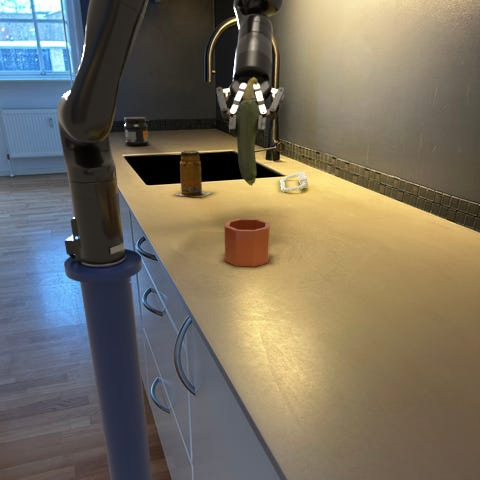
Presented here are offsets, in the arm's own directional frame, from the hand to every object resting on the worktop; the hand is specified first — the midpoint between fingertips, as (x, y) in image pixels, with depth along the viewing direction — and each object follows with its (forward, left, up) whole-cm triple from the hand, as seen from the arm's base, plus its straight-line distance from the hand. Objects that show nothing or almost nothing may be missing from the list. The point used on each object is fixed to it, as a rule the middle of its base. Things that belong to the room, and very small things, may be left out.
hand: (246, 134), depth 99 cm
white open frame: (+9, +58, -23) cm, 63 cm away
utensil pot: (+1, -8, -22) cm, 24 cm away
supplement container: (-65, +139, -23) cm, 155 cm away
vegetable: (0, +2, -10) cm, 10 cm away
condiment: (-20, +45, -23) cm, 54 cm away
